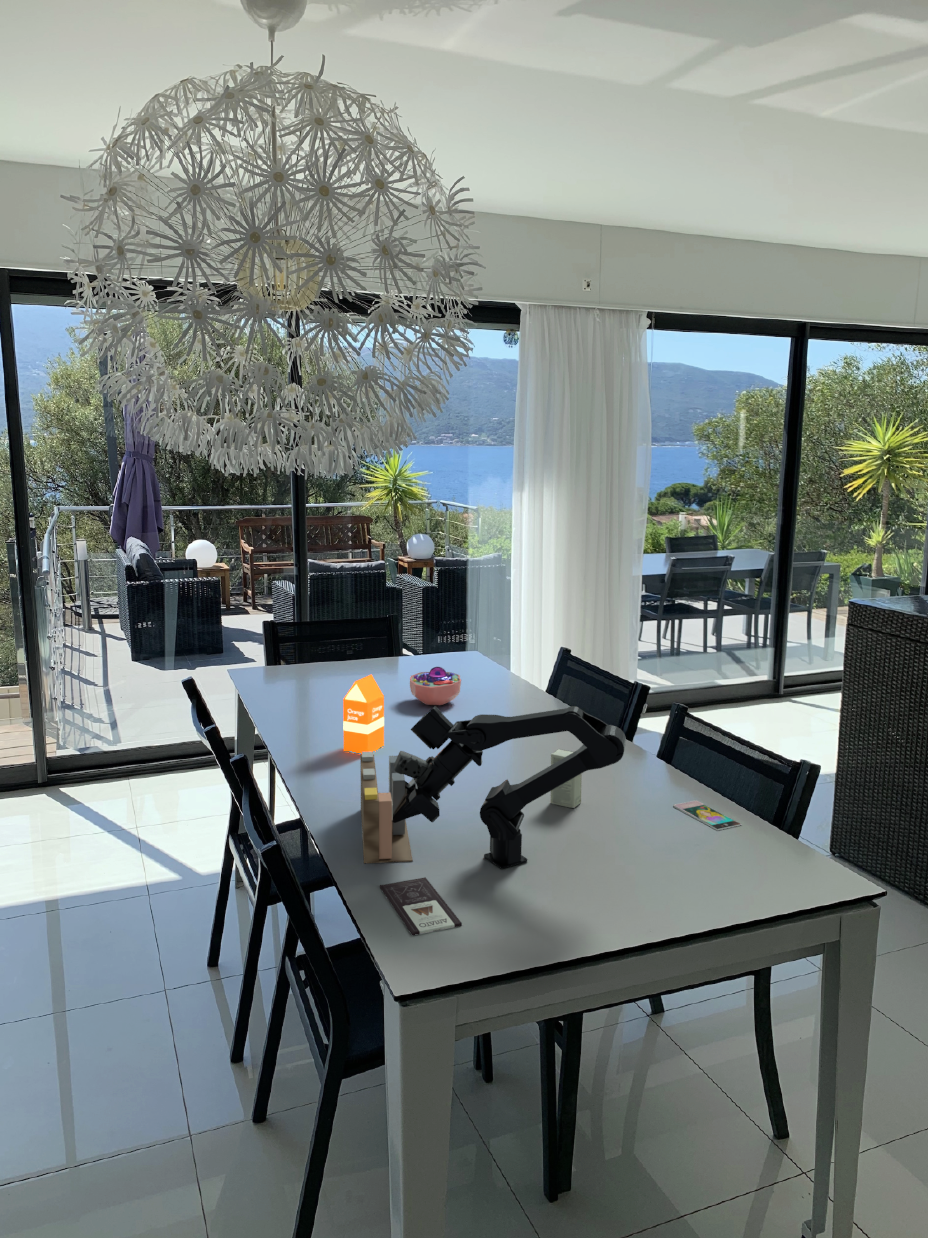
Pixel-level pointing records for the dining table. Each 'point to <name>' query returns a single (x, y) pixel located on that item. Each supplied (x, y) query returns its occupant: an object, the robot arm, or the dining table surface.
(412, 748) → the dining table surface
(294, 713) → the dining table surface
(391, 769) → the key
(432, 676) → the cell model
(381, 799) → the terracotta key
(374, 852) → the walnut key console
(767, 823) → the dining table surface
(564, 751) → the skincare box
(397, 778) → the middle slate key
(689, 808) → the smartphone
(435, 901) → the chocolate bar
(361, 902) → the dining table surface
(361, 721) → the orange juice
